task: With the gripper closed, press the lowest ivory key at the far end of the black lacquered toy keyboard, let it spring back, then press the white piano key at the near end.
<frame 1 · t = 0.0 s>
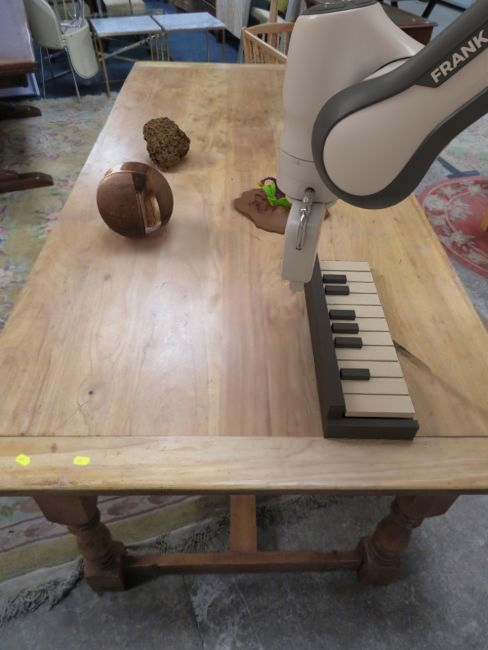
hand: (301, 266, 60), 15 cm above the table, tool pointing down, fingers open, 8 cm apart
low key: (343, 268, 79), point 4 cm above the table, slide at 0.1 cm
plant: (282, 214, 99), on the table
tankard: (330, 165, 118), on the table
white piano key: (377, 405, 58), point 4 cm above the table, slide at 0.1 cm
brown porous lump: (167, 161, 118), on the table
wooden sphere: (141, 234, 93), on the table
keyboard: (347, 342, 71), on the table
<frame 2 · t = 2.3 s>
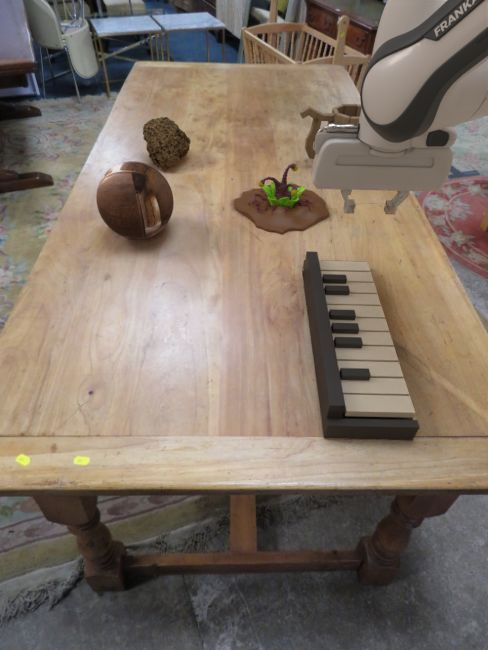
hand: (368, 212, 71), 15 cm above the table, tool pointing down, fingers open, 5 cm apart
nothing on the table moved.
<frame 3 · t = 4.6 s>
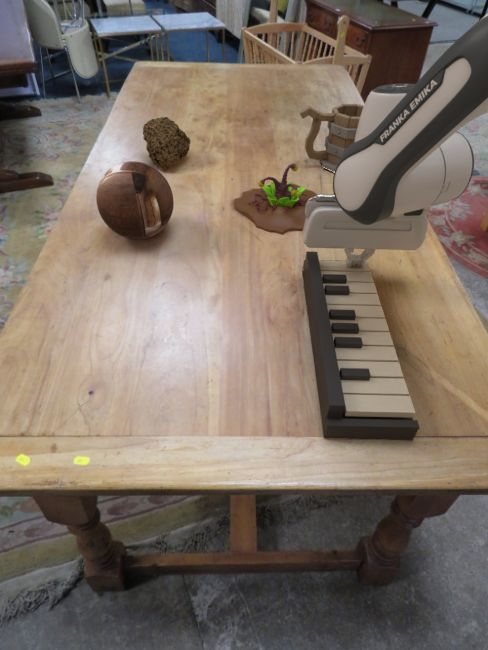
hand: (354, 265, 79), 4 cm above the table, tool pointing down, fingers closed, pressing on low key
low key: (343, 268, 79), point 4 cm above the table, slide at 0.1 cm, touching gripper
everything else where it was.
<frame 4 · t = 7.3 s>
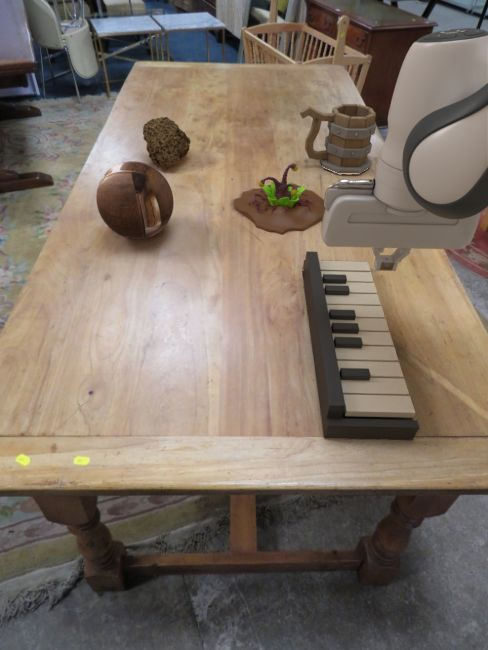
hand: (384, 268, 65), 13 cm above the table, tool pointing down, fingers closed
low key: (343, 268, 79), point 4 cm above the table, slide at 0.1 cm
everything else where it was.
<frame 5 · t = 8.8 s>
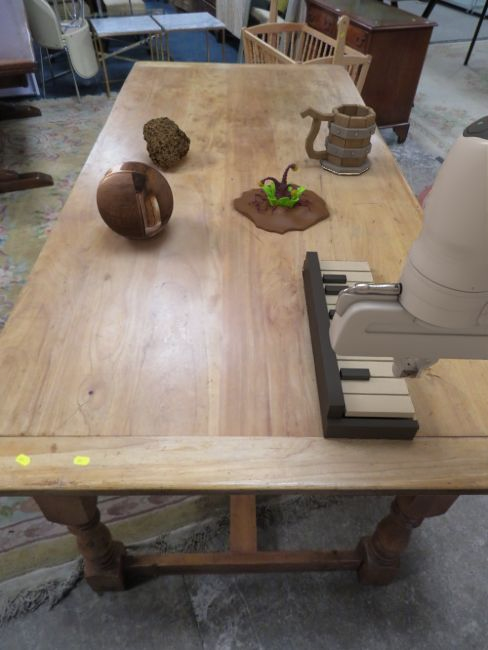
hand: (404, 373, 53), 11 cm above the table, tool pointing down, fingers closed
nothing on the table moved.
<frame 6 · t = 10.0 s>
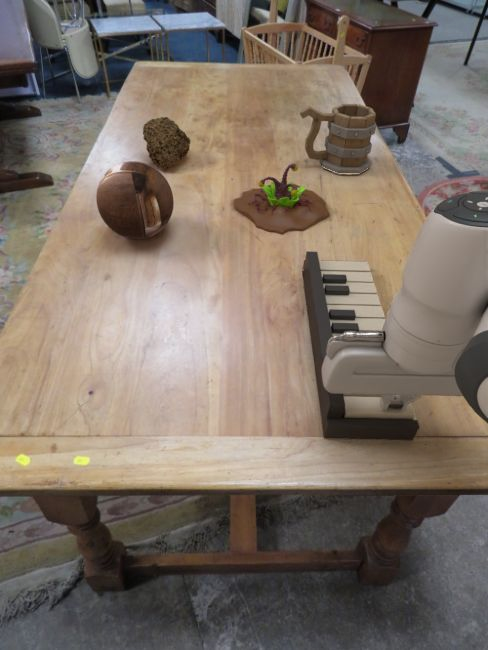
hand: (391, 406, 58), 4 cm above the table, tool pointing down, fingers closed, pressing on white piano key
white piano key: (377, 407, 58), point 3 cm above the table, slide at -0.4 cm, touching gripper
everything else where it was.
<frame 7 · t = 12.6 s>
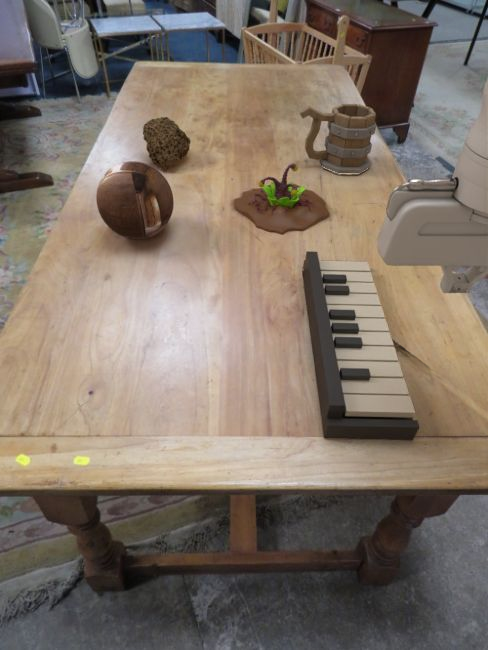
hand: (453, 290, 51), 19 cm above the table, tool pointing down, fingers closed
white piano key: (377, 405, 58), point 4 cm above the table, slide at 0.1 cm
everything else where it was.
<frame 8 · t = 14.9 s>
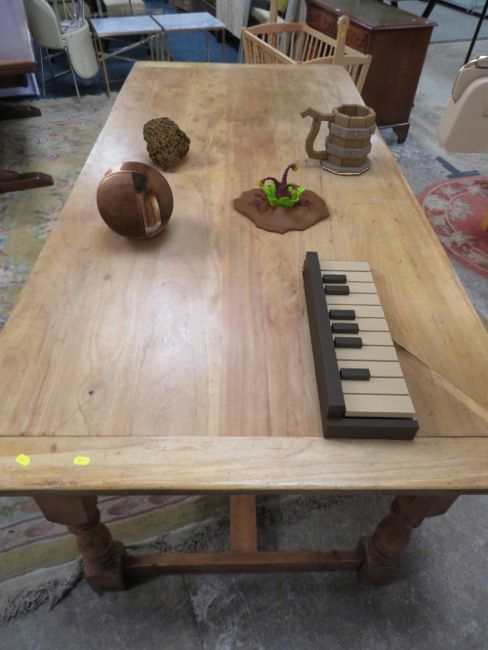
nothing on the table moved.
at the end: low key pushed in 0.9 cm at the most during the clip, back to where it started at the end; white piano key pushed in 1.0 cm at the most during the clip, back to where it started at the end; white piano key slide at 0.1 cm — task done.
